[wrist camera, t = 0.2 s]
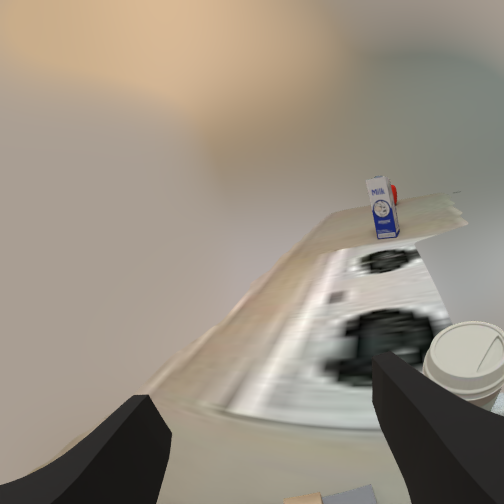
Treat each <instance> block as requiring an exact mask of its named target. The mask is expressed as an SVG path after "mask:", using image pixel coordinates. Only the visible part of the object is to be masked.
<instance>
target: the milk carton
mask: <svg viewBox="0 0 504 504" xmlns="http://www.w3.org/2000/svg"><path fill="white" fill-rule="evenodd" d="M365 181H366V185H367V189H368V193H369V198H370V202H371V207H372V212H373V217H374V222H375V227H376V232H377V238H378V239H384V238H394V237H397V236H398V234H399V232H400V231H399V225H398V219H397V213H396V208H395V203H394V198H393V193H392V188H391V184H390V179H389V178H387V177H382V176H376V177H374V179H368V180H365Z"/></svg>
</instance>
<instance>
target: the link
mask: <svg viewBox="0 0 504 504" xmlns="http://www.w3.org/2000/svg"><path fill="white" fill-rule="evenodd" d="M284 504H324V503H323V500H322V497H321V494H320V492H318V493H313V494H308V495H303V496H297V497H291V498H285V499H284Z"/></svg>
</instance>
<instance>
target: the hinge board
mask: <svg viewBox="0 0 504 504" xmlns="http://www.w3.org/2000/svg"><path fill="white" fill-rule="evenodd" d="M322 500H323V503H324V504H377V503H376V500H375V496H374V493H373V490H372V486H371V484H370V485H367V486H363V487H360V488H357V489H353V490H350V491H346V492H342V493H338V494H334V495H330V496H326V497H322Z"/></svg>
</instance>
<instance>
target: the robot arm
mask: <svg viewBox="0 0 504 504" xmlns="http://www.w3.org/2000/svg"><path fill="white" fill-rule="evenodd" d="M372 387H373V394H372V402H373V405H374V408H375V412H376V415H377V418H378V421H379V424H380V427H381V429H382V432H383V434H384V436H385V438H386V440H387V442H388V445H389V447H390V449H391V451H392V453H393V456H394V458H395V460H396V462H397V464H398V467H399V469H400V471H401V473H402V476H403V478H404V480H405V483H406V486H407V488H408V492H409V495H410V499H411V503H412V504H504V417H503V416H500V415H498V414H495V413H493V412H490V411H488V410H485V409H483V408H481V407H478V406H476V405H474V404H472V403H470V402H468V401H466V400H464V399H462V398H460V397H459V396H457V395H455V394H453V393H452V392H450V391H448V390H447V389H445V388H443V387H442V386H440V385H439V384H437V383H435V382H434V381H432V380H431V379H429V378H428V377H426V376H425V375H423V374H422V373H420V372H419V371H418V370H416V369H415V368H413V367H412V366H411V365H409V364H408V363H406V362H405V361H404V360H402V359H401V358H400V357H398V356H397V355H395V354H394V353H392V352H391V351H389V352H386V353H383V354H380V355H376V356H373V357H372ZM171 438H172V432H171V431H170V429H169V428H168V426H167V425H166V423H165V421H164V420H163V418H162V417H161V415H160V413H159V412H158V410H157V408H156V407H155V405H154V403H153V402H152V400H151V398H150V397H149V395H133V396H132V397H131V398H129V399H128V400H127V401H126V402H125V403H124V404H122V405H121V406H120V407H119V408H118V409H117V410H116V411H115V412H113V413H112V414H111V415H110V416H109V417H108V418H107V419H106V420H105V421H104V422H102V423H101V424H100V425H99V426H98V427H97V428H96V429H95V430H94V431H92V432H91V433H90V434H89V435H88V436H87V437H85V438H84V439H83V440H82V441H80V442H79V443H78V444H77V445H75V446H74V447H73V448H72V449H71V450H69V451H68V452H66V453H65V454H64V455H62V456H61V457H59V458H58V459H56V460H55V461H53V462H52V463H50V464H48V465H47V466H45V467H43V468H41V469H39V470H37V471H35V472H33V473H31V474H29V475H27V476H25V477H23V478H20V479H17V480H15V481H12V482H9V483H6V484H3V485H0V504H156V503H157V499H158V495H159V492H160V488H161V485H162V481H163V478H164V474H165V471H166V467H167V463H168V460H169V454H170V447H171Z"/></svg>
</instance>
